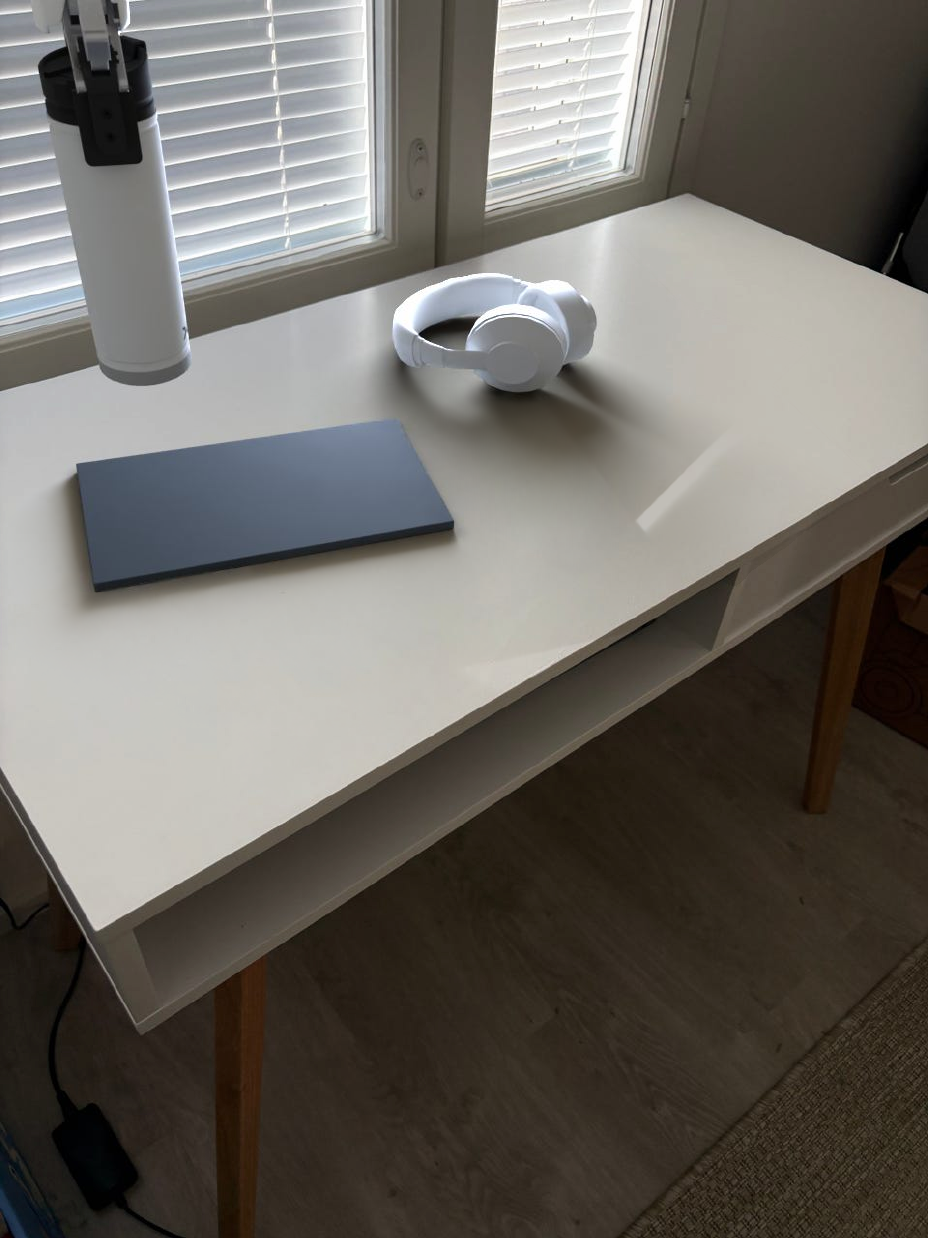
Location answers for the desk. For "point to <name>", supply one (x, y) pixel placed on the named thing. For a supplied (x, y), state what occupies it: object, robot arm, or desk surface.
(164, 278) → the travel mug
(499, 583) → the desk surface
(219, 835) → the desk surface
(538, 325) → the headphones
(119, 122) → the robot arm
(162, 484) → the mat
